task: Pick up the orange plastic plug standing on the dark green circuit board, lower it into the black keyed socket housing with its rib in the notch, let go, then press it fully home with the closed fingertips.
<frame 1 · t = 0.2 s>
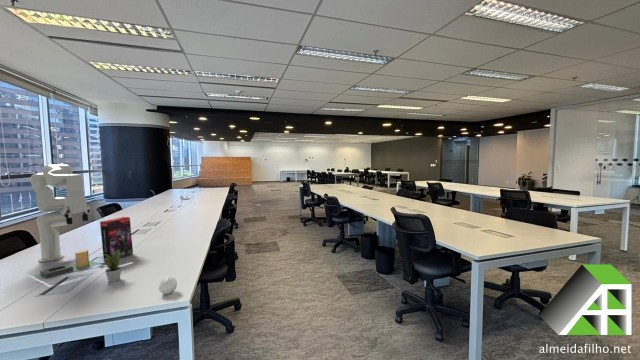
hand: (77, 222, 164), 30 cm above the table, tool pointing down, fingers open, 9 cm apart
header board: (69, 271, 164), on the table
plug: (82, 266, 169), point 1 cm above the table, touching header board
graphics card box: (118, 258, 186), on the table
white rough ball: (168, 293, 132), on the table
house plant: (113, 279, 150), on the table
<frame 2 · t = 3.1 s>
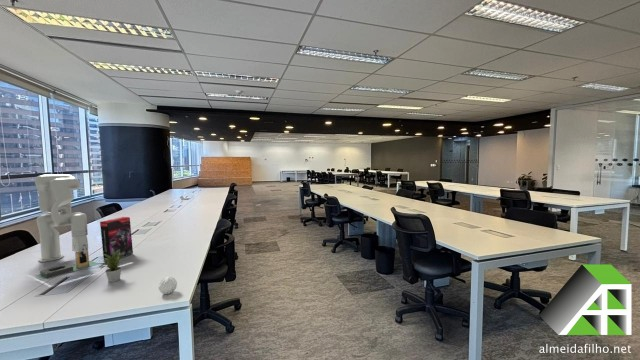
hand: (81, 261, 169), 4 cm above the table, tool pointing down, fingers closed on plug, 3 cm apart
plug: (82, 266, 169), point 1 cm above the table, touching gripper, header board
everything else where it was.
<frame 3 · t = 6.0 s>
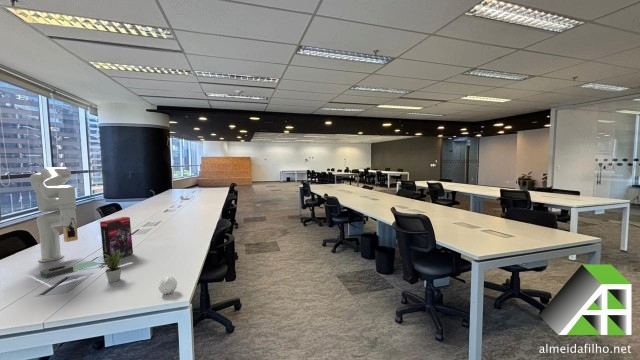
hand: (70, 236, 163), 21 cm above the table, tool pointing down, fingers closed on plug, 3 cm apart
plug: (70, 240, 164), point 19 cm above the table, touching gripper
everything else where it was.
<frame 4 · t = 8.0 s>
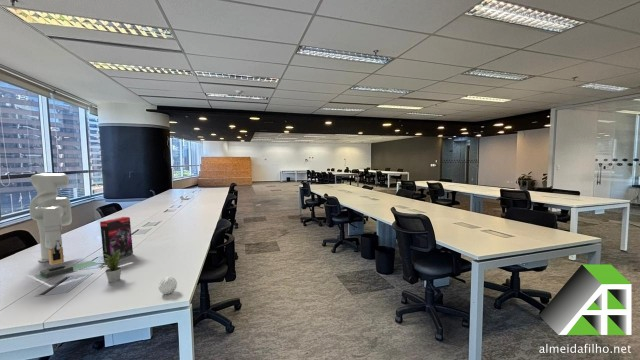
hand: (55, 259, 158), 10 cm above the table, tool pointing down, fingers closed on plug, 3 cm apart
plug: (55, 263, 158), point 7 cm above the table, touching gripper
everything else where it was.
when the fingers open (5 cm above the table, at t = 9.3 s): plug stays where it is, resting on header board.
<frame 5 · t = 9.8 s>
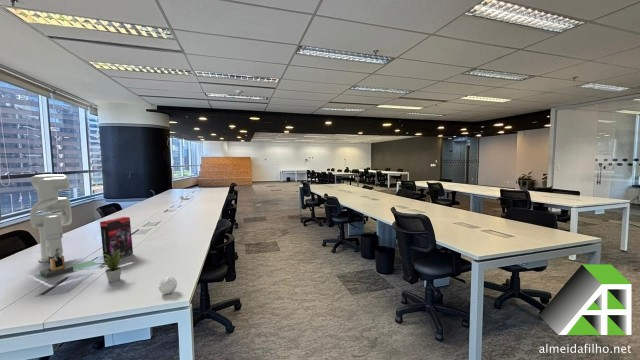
hand: (55, 265, 158), 6 cm above the table, tool pointing down, fingers open, 9 cm apart
plug: (57, 272, 159), point 1 cm above the table, touching header board
everything else where it was.
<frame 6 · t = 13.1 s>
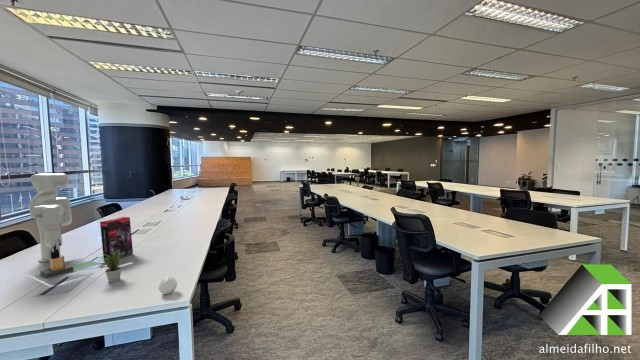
hand: (55, 257, 158), 10 cm above the table, tool pointing down, fingers closed
plug: (57, 272, 159), point 1 cm above the table, touching gripper, header board
everything else where it was.
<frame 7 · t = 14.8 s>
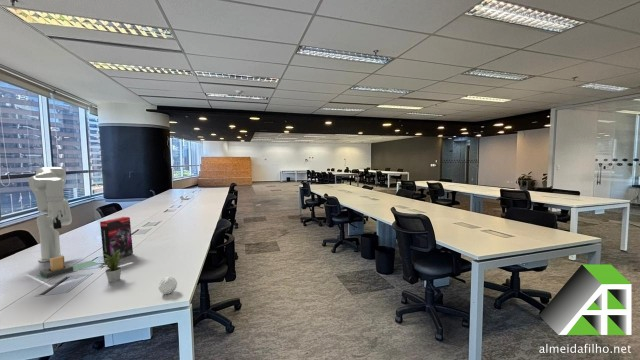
hand: (57, 228, 166), 26 cm above the table, tool pointing down, fingers closed
plug: (57, 272, 159), point 1 cm above the table, touching header board
everything else where it was.
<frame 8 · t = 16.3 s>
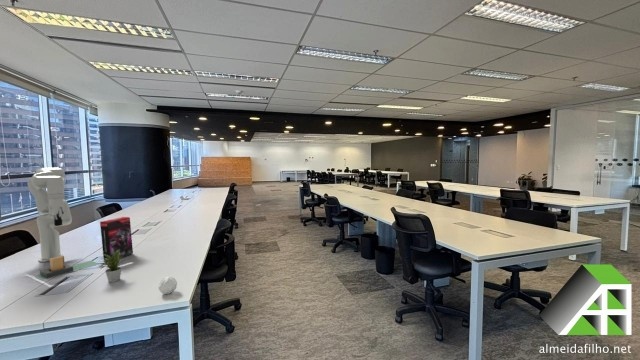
hand: (58, 225, 168), 27 cm above the table, tool pointing down, fingers closed
nothing on the table moved.
at the end: plug 0.3 cm from the target spot on the header board, point 1.2 cm above the header board's base; plug tilted 0°; the gripper is holding nothing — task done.
